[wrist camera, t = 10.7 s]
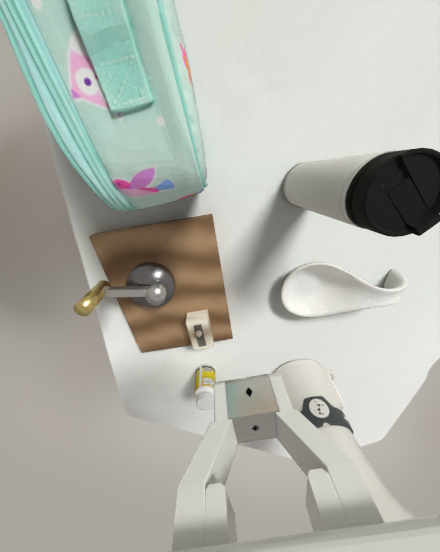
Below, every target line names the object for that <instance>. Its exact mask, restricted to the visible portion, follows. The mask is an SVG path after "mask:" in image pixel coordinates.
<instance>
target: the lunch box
mask: <svg viewBox="0 0 440 552" xmlns="http://www.w3.org/2000/svg"><path fill="white" fill-rule="evenodd" d="M0 19H1V21H2V24H3V26H4V29H5V31H6V33H7V36H8V38H9V41H10V43H11V45H12V48H13V51H14V53H15V56H16V58H17V60H18V63H19V65H20V68H21V70H22V72H23V75H24V77H25V79H26V81H27V84H28V86H29V88H30V91H31V93H32V95H33V97H34V100H35V102H36V104H37V106H38V108H39V110H40V112H41V114H42V116H43V118H44V120H45V122H46V124H47V126H48V128H49V129H50V131H51V133H52V135H53V137H54V138H55V140H56V142H57V144H58V145H59V147H60V149H61V150H62V152H63V153H64V154H65V156H66V157H67V159H68V160H69V162H70V163H71V164H72V166H73V167H74V168H75V170H76V171H77V172H78V174H79V175H80V176H81V177H82V179H83V180H84V181H85V182H86V184H87V185H88V186H89V187H90V188H91V189H92V190H93V192H94V193H95V194H96V195H97V196H98V197H99V198H100V199H101V200H102V201H103V202H104V203H105V204H106V205H107V206H108V207H110V208H112V209H114V210H121V211H133V210H136V209H143V208H149V207H153V206H157V205H162V204H166V203H170V202H173V201H176V200H179V199H182V198H185V197H188V196H191V195H195V194H198V193H201V192H202V191H203V190H204V187H206V186H207V183H206V182H205V181H206V178H207V170H206V163H205V154H204V147H203V141H202V135H201V129H200V123H199V117H198V111H197V105H196V99H195V94H194V88H193V83H192V78H191V72H190V67H189V61H188V56H187V51H186V47H185V43H184V39H183V35H182V31H181V28H180V24H179V20H178V16H177V12H176V7H175V3H174V0H0Z"/></svg>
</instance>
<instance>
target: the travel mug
mask: <svg viewBox="0 0 440 552" xmlns="http://www.w3.org/2000/svg"><path fill="white" fill-rule="evenodd" d="M283 194H284V197H285V199H286V200H287V201H288V202H289V203H291V204H293V205H296V206H299V207H301V208H304V209H307V210H310V211H313V212H316V213H319V214H322V215H325V216H328V217H331V218H334V219H337V220H340V221H342V222H345V223H348V224H351V225H354V226H357V227H360V228H364V229H368V230H371V231H374V232H377V233H380V234H383V235H386V236H393V237H397V236H405V235H408V234H412V233H413V234H415V235H419V236H420V235H422V234H423V233H424V232H426V231H427V230H429V229H430V228H432V227H433V226H434V225H436V224H437V223H438V222H440V214H439V213H440V152H438V151H435V150H433V149H428V148H418V149H410V150H402V151H388V152H381V153H373V154H365V155H358V156H350V157H343V158H335V159H328V160H321V161H313V162H306V163H300V164H297V165H296V166H294V167H293V168H292V169H290V171H289V172H288V173H287V175H286V176H285V179H284V181H283Z"/></svg>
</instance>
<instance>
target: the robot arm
mask: <svg viewBox="0 0 440 552" xmlns="http://www.w3.org/2000/svg"><path fill="white" fill-rule="evenodd" d="M333 378H334V373H333V372H332V371H331V370H328V369H325V368H324V367H322V366H321V365H320V364H319V363H317V362H315V361H312V360H295V361H291V362H288V363H286V364H284V365H282V366H281V367H279V368H278V369H277V370H276V371H275V372H274V373H272V374H264V375H258V376H252V377H247V378H242V379H235V380H228V381H220V382H214V422H211V423H210V425H209V427H208V429H207V431H206V433H205V435H204V437H203V439H202V441H201V443H200V445H199V447H198V449H197V451H196V453H195V455H194V457H193V459H192V461H191V463H190V465H189V467H188V469H187V471H186V473H185V475H184V477H183V479H182V481H181V483H180V485H179V486H178V494H177V504H176V513H175V523H174V533H173V544H172V551H170V552H440V515H436V516H429V517H421V518H417V517H416V516H414V515H413V514H412V513H411V512H410V511H409V510H408V509H407V508H405V507H404V506H403V505H402V504H401V503H400V502H399V501H398V500H397V499H396V498H395V496H394V495H393V494H392V493H391V492H390V491H389V490H388V489H387V487H386V486H385V485H384V483H382V481H381V480H380V478H379V477H378V475H377V474H376V472H375V471H374V469H373V467H372V466H371V464H370V463H369V461H368V460H367V458H366V456H365V455H364V453H363V451H362V450H361V448H360V446H359V445H358V443H357V441H356V439H355V438H354V436H353V430H352V428H351V426H350V423H349V421H348V419H347V418H346V417H345V415H344V413H343V412H342V409H343V405H344V403H343V401H342V399H341V397H340V395H339V393H338V391H337V389H336V387H335V385H334V383H333ZM270 438H278V440H279V441H280V443H281V444H282V445H283V446H284V448H285V449H286V450H287V452H288V453H289V454H290V455H291V457H292V458H293V459H294V461H295V462H296V463H297V464H298V466H299V467H300V468H301V470H302V471H303V472H304V473H305V475H306V476H307V477H308V480H307V493H306V507H307V510H308V514H309V517H310V521H311V524H312V528H313V531H314V532H310V533H303V534H296V535H288V536H280V537H273V538H266V539H258V540H251V541H243V542H237V535H236V523H235V514H234V511H233V508H232V505H231V502H230V499H229V497H228V494H227V491H226V488H225V483H226V480H227V477H228V474H229V471H230V468H231V465H232V461H233V459H234V456H235V453H236V449H237V446H238V443H244V442H249V441H255V440H262V439H270Z"/></svg>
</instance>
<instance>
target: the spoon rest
mask: <svg viewBox="0 0 440 552" xmlns="http://www.w3.org/2000/svg"><path fill="white" fill-rule="evenodd" d="M406 286H407V281H406V278H405V277H404V276H403V274H402V273H400V272H399V271H398V270H396V269H392V270H391V271H390V272H389V273H388V275H387V278H386V281H385V283H384V288H380V287H376V286H374V285H371V284H369V283H367V282H365V281H364V280H362V279H360V278H359V277H357V276H355V275H354V274H352V273H350V272H348V271H346V270H345V269H343V268H341V267H338V266H336V265H333V264H330V263H325V262H311V263H306V264H304V265H301V266H299V267H297V268H296V269H294V270H293V271H292V272H291V273H290V274H289V275H288V276H287V277H286V279H285V280H284V282H283V285H282V288H281V294H280V295H281V301H282V304H283V306H284V307H285V308H286V309H287V310H288V311H289V312H291V313H293V314H295V315H298V316H303V317H319V316H326V315H332V314H338V313H344V312H349V311H355V310H362V309H369V308H376V307H384V306H389V305H393V304H395V303H397V302H399V301H400V299H401V296H402V292H403V291H404V289H405V288H406Z"/></svg>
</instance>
